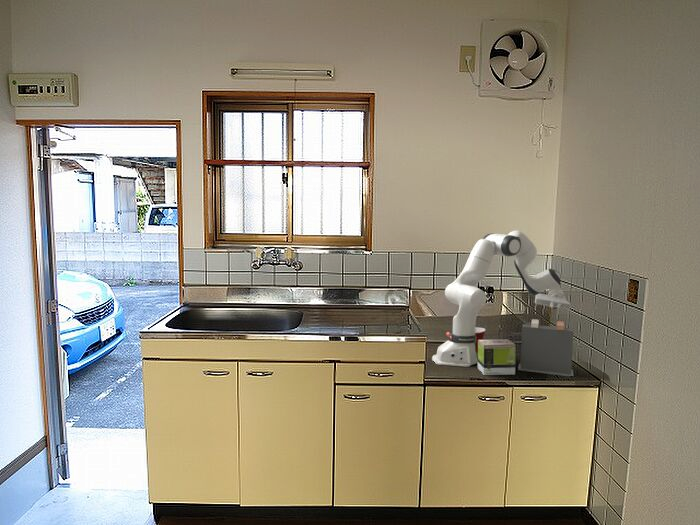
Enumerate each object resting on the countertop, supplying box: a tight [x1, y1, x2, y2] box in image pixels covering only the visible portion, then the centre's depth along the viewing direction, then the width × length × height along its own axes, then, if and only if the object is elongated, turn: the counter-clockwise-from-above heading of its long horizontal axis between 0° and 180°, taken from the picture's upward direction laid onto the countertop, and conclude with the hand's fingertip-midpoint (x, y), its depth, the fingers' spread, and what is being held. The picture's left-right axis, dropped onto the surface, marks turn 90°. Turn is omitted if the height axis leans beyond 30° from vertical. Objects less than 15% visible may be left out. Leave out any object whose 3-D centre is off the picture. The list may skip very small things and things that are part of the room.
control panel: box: [517, 323, 574, 377], centre depth 225 cm, size 24×8×21 cm, turn 67°
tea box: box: [477, 338, 517, 376], centre depth 224 cm, size 15×10×15 cm
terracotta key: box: [556, 320, 565, 330], centre depth 224 cm, size 4×10×7 cm, turn 157°
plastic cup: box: [475, 326, 486, 353], centre depth 258 cm, size 11×11×12 cm
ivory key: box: [530, 318, 540, 328], centre depth 228 cm, size 4×10×7 cm, turn 157°
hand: (554, 308), depth 240 cm, fingers closed
